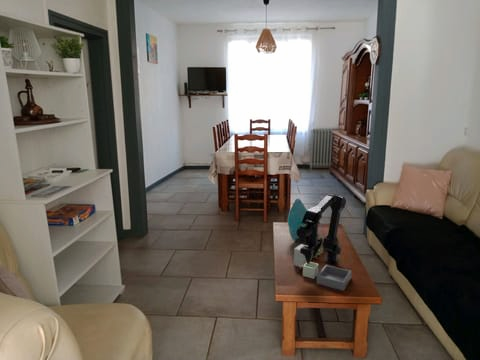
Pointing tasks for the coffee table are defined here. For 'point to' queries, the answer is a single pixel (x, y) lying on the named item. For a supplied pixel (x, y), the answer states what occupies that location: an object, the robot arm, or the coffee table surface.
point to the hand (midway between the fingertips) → (311, 259)
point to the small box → (299, 256)
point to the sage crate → (310, 270)
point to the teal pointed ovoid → (296, 217)
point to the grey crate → (334, 277)
